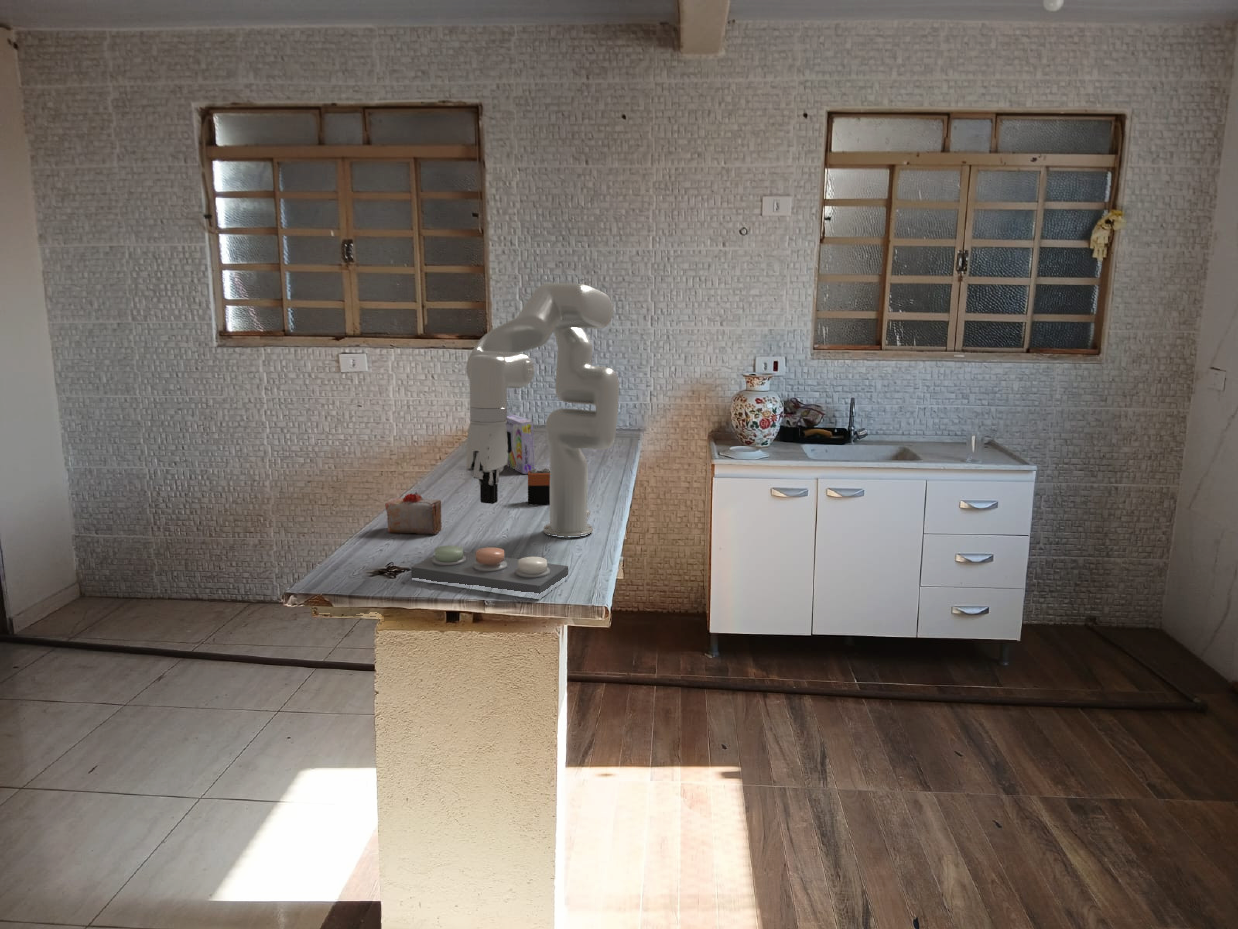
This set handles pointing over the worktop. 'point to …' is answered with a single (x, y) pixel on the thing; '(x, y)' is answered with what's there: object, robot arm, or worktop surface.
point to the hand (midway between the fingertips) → (489, 502)
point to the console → (488, 573)
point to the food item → (413, 515)
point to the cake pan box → (520, 444)
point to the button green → (449, 553)
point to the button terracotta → (490, 555)
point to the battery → (539, 486)
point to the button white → (532, 565)
